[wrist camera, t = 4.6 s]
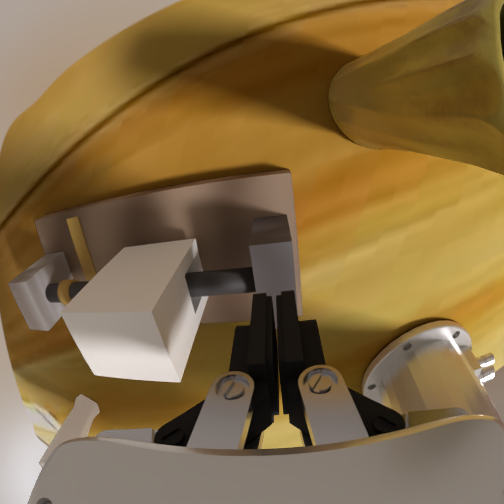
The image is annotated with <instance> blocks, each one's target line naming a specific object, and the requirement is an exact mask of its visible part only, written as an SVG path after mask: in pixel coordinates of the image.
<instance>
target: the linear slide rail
mask: <svg viewBox="0 0 504 504" xmlns="http://www.w3.org/2000/svg"><path fill="white" fill-rule="evenodd" d="M34 222H35V225H36V228H37V231H38V235H39V238H40V241H41V244H42V247H43V250H44V253H45V255H44V256H43V257H41V258H40V259H39V260H37V261H36V262H35V263H33V264H32V265H31V266H30V267H28V268H27V269H26V270H24V271H23V272H22V273H21V274H19V275H18V276H17V277H16V278H14V279H13V280H12V281H11V282H9V283H8V284H9V287H10V289H11V291H12V293H13V296H14V298H15V300H16V302H17V304H18V306H19V308H20V310H21V312H22V314H23V316H24V318H25V320H26V322H27V324H28V326H29V328H30V329H32V330H42V331H49V330H50V329H51V328H52V327H53V325H54V324H55V323H56V322H57V321H58V320H59V319H60V317H61V316H62V315H61V313H60V312H61V311H62V310H63V309H64V308H65V307H66V306H67V304H68V303H69V302H70V301H71V300H72V299H73V298H74V297H75V296H76V295H77V294H78V293H79V292H80V291H81V290H82V289H83V288H84V287H85V286H86V285H87V283H88V282H89V281H90V280H91V279H92V278H93V277H94V276H95V275H96V274H97V273H98V272H99V271H100V270H101V269H102V268H103V267H104V266H106V265H107V264H108V263H109V262H110V261H111V260H112V259H113V258H114V257H115V256H116V255H117V254H118V253H119V252H120V251H121V250H122V249H123V248H124V247H132V246H139V245H147V244H155V243H163V242H170V241H179V240H187V239H195V238H196V243H197V247H198V252H199V256H200V261H201V265H202V269H203V271H200V272H189V273H186V274H185V279H186V283H187V286H188V290H189V294H190V297H202V296H208V299H207V302H206V305H205V308H204V311H203V314H202V317H201V320H200V323H199V324H202V323H221V322H237V321H251V310H252V298H253V294H257V293H266V294H267V296H272V301H273V310H274V319H275V328H276V329H277V309H276V295H281V291H290V290H294V293H295V300H296V307H297V314H298V316H303V314H302V297H301V281H300V267H299V253H298V241H297V229H296V218H295V208H294V198H293V188H292V179H291V172H290V170H289V169H287V170H277V171H268V172H260V173H251V174H244V175H236V176H229V177H222V178H215V179H209V180H203V181H196V182H190V183H185V184H179V185H173V186H168V187H162V188H157V189H152V190H147V191H142V192H137V193H132V194H128V195H123V196H119V197H114V198H110V199H106V200H101V201H97V202H93V203H89V204H85V205H81V206H77V207H73V208H69V209H66V210H62V211H58V212H55V213H51V214H48V215H45V216H43V217H41V218H39V219H37V220H35V221H34Z"/></svg>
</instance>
